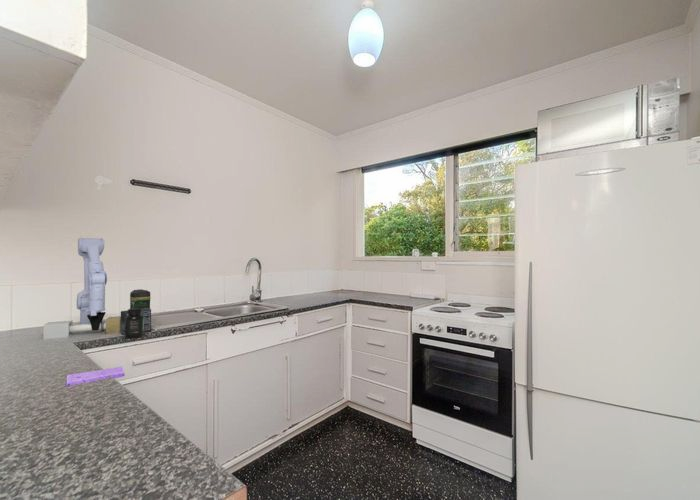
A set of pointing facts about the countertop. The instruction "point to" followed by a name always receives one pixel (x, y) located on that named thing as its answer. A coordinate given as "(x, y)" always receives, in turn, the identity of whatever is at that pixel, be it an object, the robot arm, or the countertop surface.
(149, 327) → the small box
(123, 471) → the countertop surface
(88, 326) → the tube
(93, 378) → the sponges
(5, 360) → the countertop surface
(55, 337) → the light grey block
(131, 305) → the coffee jar
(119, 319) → the socket
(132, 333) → the supplement bottle
